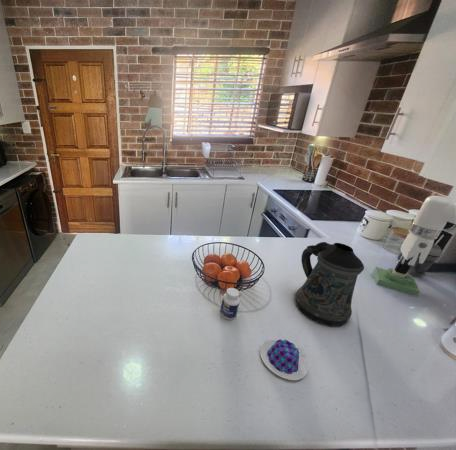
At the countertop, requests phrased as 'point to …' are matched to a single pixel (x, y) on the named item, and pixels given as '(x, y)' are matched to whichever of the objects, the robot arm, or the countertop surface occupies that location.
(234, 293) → the pill bottle
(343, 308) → the beer stein
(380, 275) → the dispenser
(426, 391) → the countertop surface
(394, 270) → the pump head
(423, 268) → the beverage cup
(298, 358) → the pudding
